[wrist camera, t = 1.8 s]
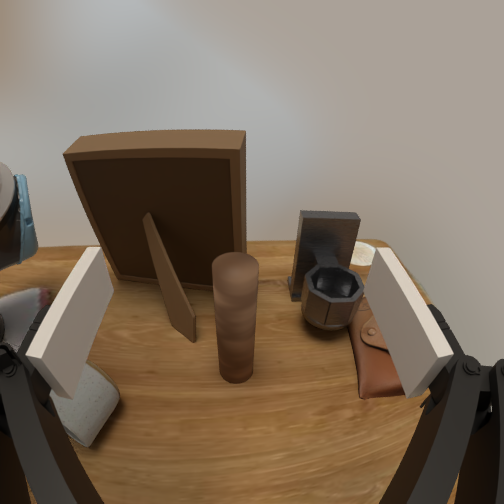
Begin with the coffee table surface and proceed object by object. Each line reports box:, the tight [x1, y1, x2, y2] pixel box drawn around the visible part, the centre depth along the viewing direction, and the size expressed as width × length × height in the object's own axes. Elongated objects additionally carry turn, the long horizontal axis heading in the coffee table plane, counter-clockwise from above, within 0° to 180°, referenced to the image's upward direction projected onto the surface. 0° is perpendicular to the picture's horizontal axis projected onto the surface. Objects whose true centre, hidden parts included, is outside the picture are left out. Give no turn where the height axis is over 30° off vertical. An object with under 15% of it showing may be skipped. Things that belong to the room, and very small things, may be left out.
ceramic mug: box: [50, 360, 120, 447], centre depth 26 cm, size 11×8×8 cm
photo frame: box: [63, 130, 247, 343], centre depth 37 cm, size 15×22×25 cm
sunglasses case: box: [347, 297, 405, 399], centre depth 37 cm, size 18×7×7 cm
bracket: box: [288, 211, 364, 330], centre depth 40 cm, size 14×8×14 cm, turn 2°
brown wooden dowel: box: [212, 252, 259, 383], centre depth 30 cm, size 4×4×16 cm
